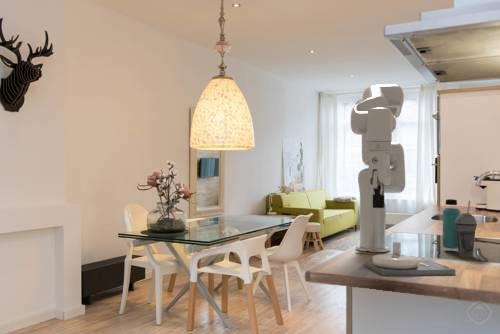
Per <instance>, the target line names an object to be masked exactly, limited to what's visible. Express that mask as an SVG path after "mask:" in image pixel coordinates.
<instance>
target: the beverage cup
mask: <svg viewBox="0 0 500 334" xmlns="http://www.w3.org/2000/svg"><path fill="white" fill-rule="evenodd" d="M467 204H468V205H467V211H466V212H462V213H460V215H459V216H458V217H457V218H456V221H455V227H456V231H457V242H458V249H457V251H458V257H461V258H474V249H475V248H474V247H475V240H476V239H475V238H476V230H477V226H478V223H477V220H476V218H475V216H474V215H473V214H471V213H470V207H471V206H470V205H471V200H468V202H467Z"/></svg>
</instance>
